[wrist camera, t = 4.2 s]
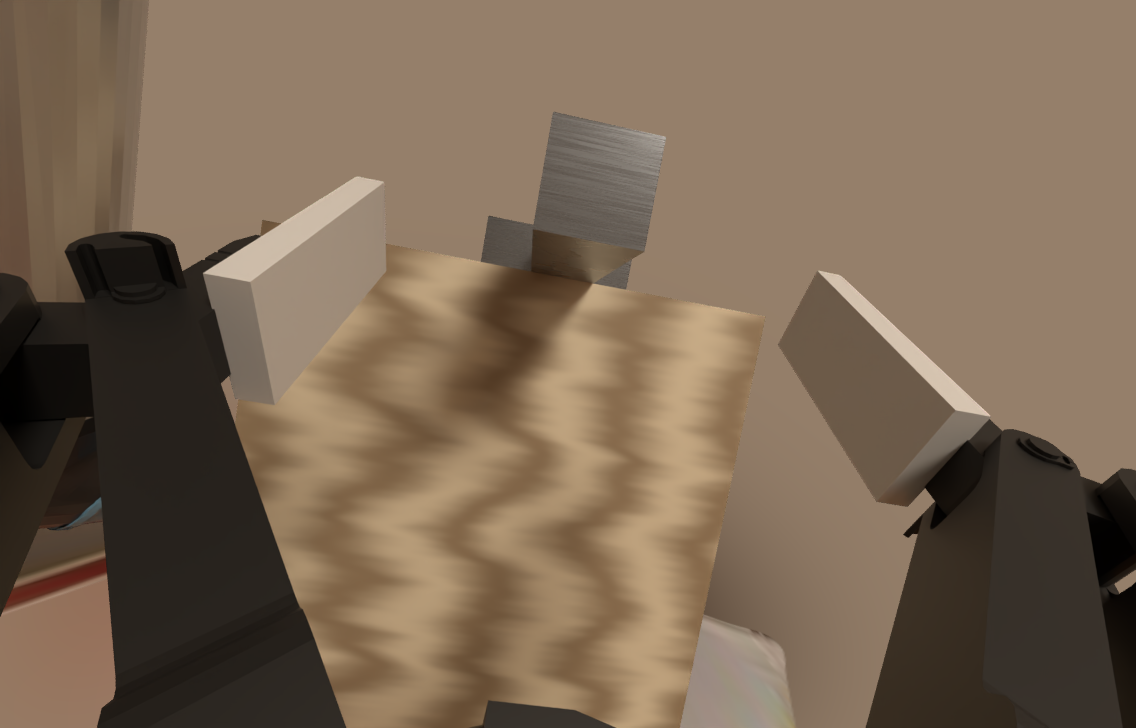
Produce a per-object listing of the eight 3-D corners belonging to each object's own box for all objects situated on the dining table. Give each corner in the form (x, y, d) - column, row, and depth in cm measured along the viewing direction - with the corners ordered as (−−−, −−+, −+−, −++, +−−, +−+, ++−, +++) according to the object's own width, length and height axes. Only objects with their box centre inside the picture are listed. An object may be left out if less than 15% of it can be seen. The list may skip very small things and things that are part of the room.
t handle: (390, 200, 14) (417, 25, 14) (483, 283, 43) (493, 228, 43) (773, 277, 15) (806, 117, 15) (612, 307, 45) (622, 253, 44)
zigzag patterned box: (191, 750, 27) (262, 219, 25) (334, 569, 47) (380, 265, 45) (665, 792, 30) (765, 316, 28) (611, 605, 50) (666, 319, 48)
